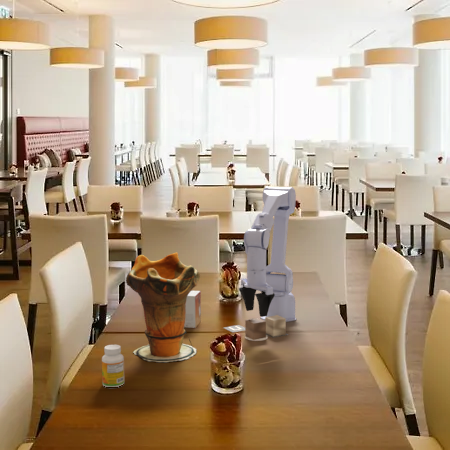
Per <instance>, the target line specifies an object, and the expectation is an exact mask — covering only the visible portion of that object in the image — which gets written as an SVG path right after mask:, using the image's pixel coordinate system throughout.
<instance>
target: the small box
mask: <svg viewBox="0 0 450 450" xmlns="http://www.w3.org/2000/svg"><path fill="white" fill-rule="evenodd" d="M201 293H202V292H201V290H191V292H190V293H189V294H188V296H187V300H186V318H185V324H184V328H190V329H191V328H193V329H196V328H197V326H198V325H199V324H201V321H202V316H201V315H202V310H201V309H202V306H201V305H202V304H201V303H202V300H201V298H202V295H201Z"/></svg>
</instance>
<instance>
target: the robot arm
mask: <svg viewBox="0 0 450 450" xmlns="http://www.w3.org/2000/svg"><path fill="white" fill-rule="evenodd" d="M296 194H297V193H296V189H295V188H294V187H293V186H290V187H289V186H287V187H286V186H268V185H266V186H265V187H264V188H263V191H262V194H261V195H262V196H261V197H262V203H263V207H262V211H261V212H260V213H257V215H256V216H255V219H254V221H253V223H252V226H251V228H249V229H248V230H246V231H245V232H244V235H243V244H244V248H245V249H244V251H245V254H246V278H241V279H240V286H241V287H239V288H238V290H239V293H240V294H241V297H242V299H243V302H244V307H245V311H247V312H248V311H250V312H251V311H253V310H254V307H255V297H256V300H257V303H258V312H259V316H260V317H259V319H261V320H264V321H265V317H269V316H275V315H278V316H281V317H283V318H286V323H287V322H294V321H297V318H296V298H295V295H294V294H293V293H292V290H293V288H294V272H293V270H292V268H290V267H289V266H288V265H287V264H286V258H287V257H286V256H287V255H286V254H287V244H288V231H289V221H290V220H289V219H290V216H291V215H292V214H293V213H295V209H296V202H297V201H296V200H297V197H296V196H297V195H296ZM271 231H273V232H272V241H271V251H270V252H271V253H270V254H271V256H270V263H269V264H268V265H267V249H268V247H269V243H270V238H271V234H270V233H271ZM257 291H258V292H259V293H257Z"/></svg>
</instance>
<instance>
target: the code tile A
mask: <svg viewBox="0 0 450 450" xmlns="http://www.w3.org/2000/svg"><path fill="white" fill-rule="evenodd" d="M223 329H225V330H227V331H229V332H231V333H237V332H241V331H243V332H245V327H244V326H242V325H239V324H237V325H236V324H235V325H230V326H225V327H223Z"/></svg>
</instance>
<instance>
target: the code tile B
mask: <svg viewBox="0 0 450 450" xmlns="http://www.w3.org/2000/svg"><path fill="white" fill-rule="evenodd" d="M266 335H267V336H268V337H270V338H272V339H273V338H279V337H280V338H281V337H284V336H289V334H288V333H286V334H285V335H279V336H274V337H273V336H271V335H269V334H267V333H266Z"/></svg>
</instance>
